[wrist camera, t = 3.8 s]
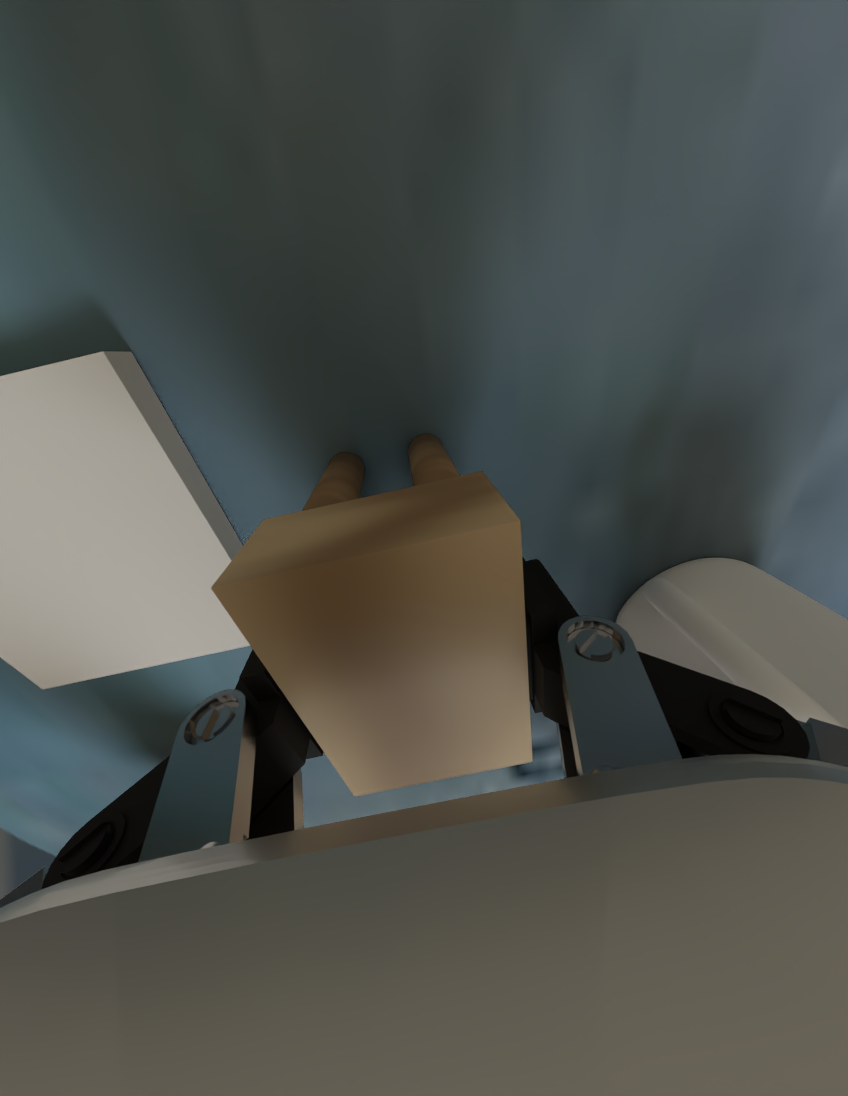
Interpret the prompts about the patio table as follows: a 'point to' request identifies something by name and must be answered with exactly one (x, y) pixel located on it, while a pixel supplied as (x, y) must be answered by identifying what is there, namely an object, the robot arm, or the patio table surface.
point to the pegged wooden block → (394, 621)
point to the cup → (745, 634)
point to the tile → (103, 527)
